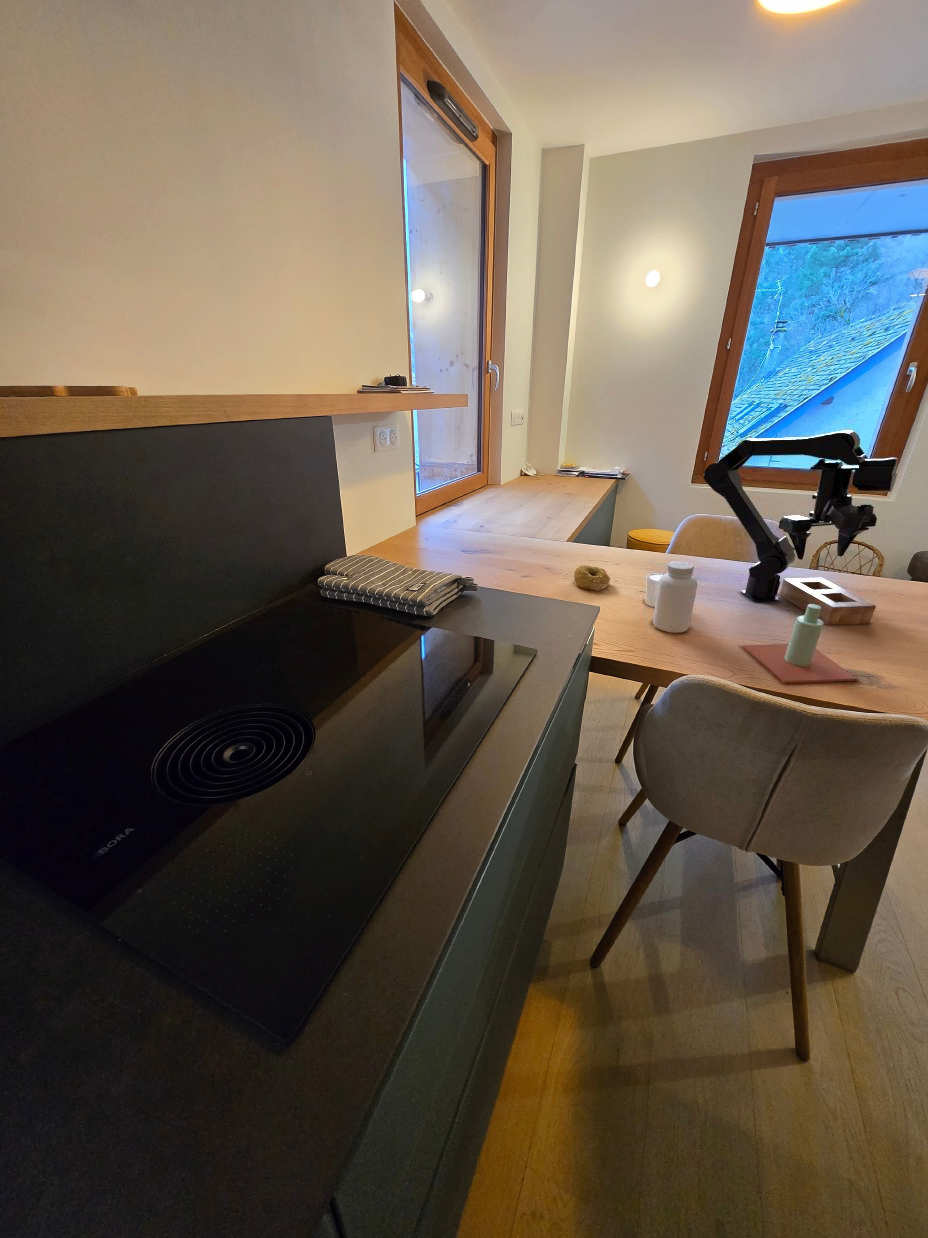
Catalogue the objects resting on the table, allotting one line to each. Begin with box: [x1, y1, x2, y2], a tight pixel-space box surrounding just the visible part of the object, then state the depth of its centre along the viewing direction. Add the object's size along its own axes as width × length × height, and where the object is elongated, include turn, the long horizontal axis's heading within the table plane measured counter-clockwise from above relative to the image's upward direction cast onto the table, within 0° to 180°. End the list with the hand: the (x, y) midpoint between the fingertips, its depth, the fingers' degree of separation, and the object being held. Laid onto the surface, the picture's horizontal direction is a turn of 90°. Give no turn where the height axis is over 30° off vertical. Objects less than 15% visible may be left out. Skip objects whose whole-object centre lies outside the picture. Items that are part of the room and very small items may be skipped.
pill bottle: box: [652, 560, 698, 634], centre depth 111 cm, size 8×8×15 cm
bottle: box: [784, 604, 825, 666], centre depth 96 cm, size 4×4×12 cm
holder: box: [778, 577, 877, 626], centre depth 121 cm, size 10×18×4 cm, turn 2°
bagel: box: [573, 564, 611, 592], centre depth 137 cm, size 10×11×5 cm
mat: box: [742, 643, 858, 684], centre depth 98 cm, size 14×14×1 cm
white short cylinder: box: [644, 572, 665, 608], centre depth 125 cm, size 7×7×7 cm
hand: (820, 557), depth 116 cm, fingers open, 9 cm apart
